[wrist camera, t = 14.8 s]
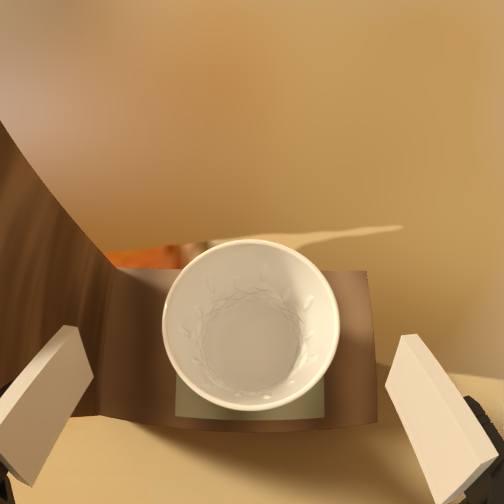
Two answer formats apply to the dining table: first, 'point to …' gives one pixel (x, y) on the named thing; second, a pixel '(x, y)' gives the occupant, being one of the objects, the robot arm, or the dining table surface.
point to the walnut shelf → (145, 324)
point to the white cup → (251, 325)
